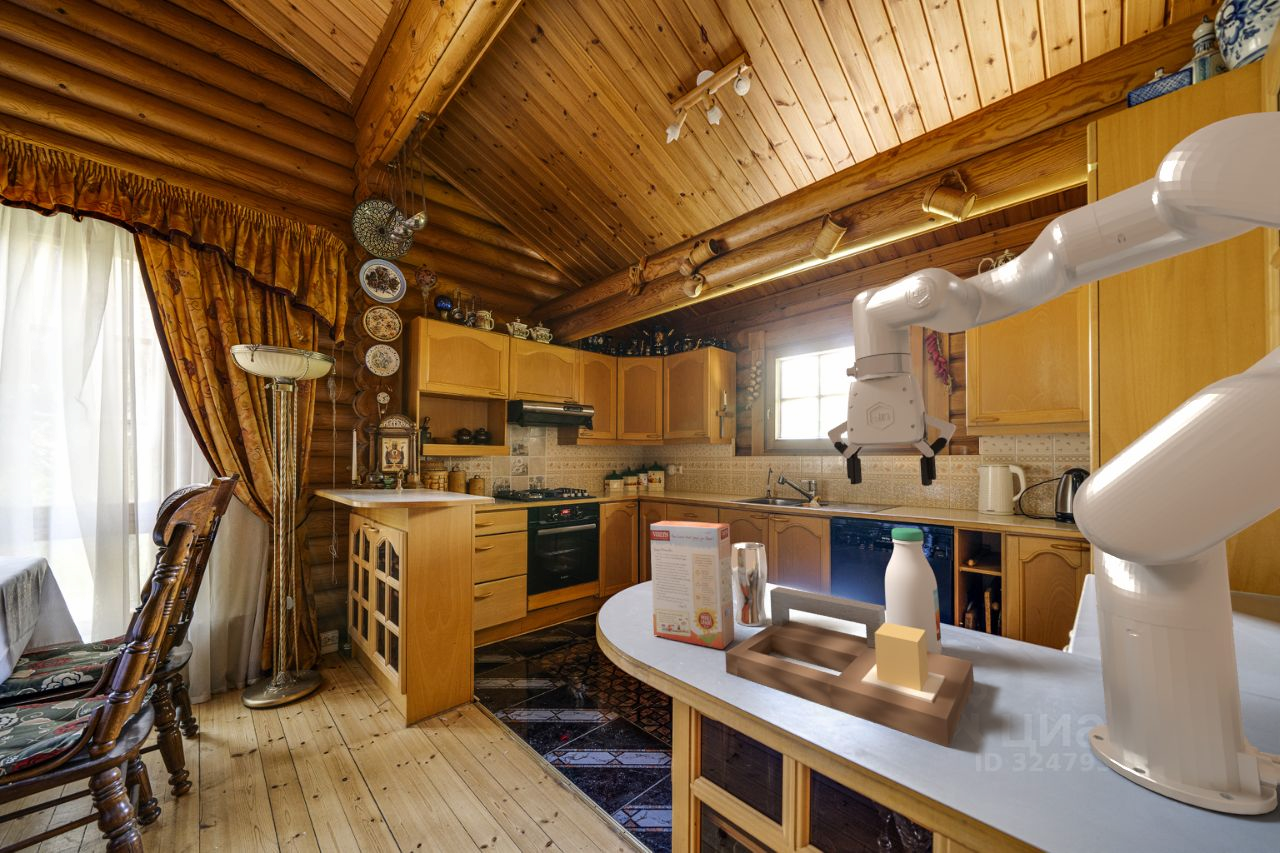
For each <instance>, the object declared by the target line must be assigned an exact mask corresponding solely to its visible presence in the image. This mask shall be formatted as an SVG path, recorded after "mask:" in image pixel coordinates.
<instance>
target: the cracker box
mask: <svg viewBox="0 0 1280 853" xmlns="http://www.w3.org/2000/svg"><path fill="white" fill-rule="evenodd" d="M730 528H731V527H730V524H729V523H719V522H718V523H715V522H714V523H712V522H700V521H683V520H680V521H679V520H660V521H658V522H657V521H656V522H654V523H650V554H651V555H650V556H651V558H650V560H651V561H650V563H651V564H650V565H651V594H652V597H651V598H652V624H653V626H652V627H653V629H652V630H653V636H654V635H657V636H661V637H660V638H663V637H665V638H664V639H668V638H669V640H673V641H677V642H678V641H679V642H683V643H688V644H695V645H698V646H705V647H709V648H714V649H718V650H724V649H725V648H726V647H727V646H729V644H730V643H731V642H732V641H734V640H735V622H734V620H735V619H734V617H735V616H734V615H735V614H734V595H733V577H732V568H731V553H732V545H731V531H730ZM657 636H656V637H657Z"/></svg>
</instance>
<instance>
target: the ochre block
mask: <svg viewBox="0 0 1280 853" xmlns="http://www.w3.org/2000/svg"><path fill="white" fill-rule="evenodd" d="M875 649H876V666H877V680H880V681H884V682H888V683H891V684H895V685H899V686H902V687H906V688H910V689H914V690H917V691H921V690H922V688H923V686H924V684H925V682H926V680H927V679H928V677H929V675H928V660H927V644H926V630H922V629H917V628H912V627H906V626H901V625H896V624H891V623H887V621H885V623H884V624H883V625H882V626H881V627H880V628H879V629H878V630H877V631H876V632H875Z"/></svg>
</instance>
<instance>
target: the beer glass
mask: <svg viewBox="0 0 1280 853" xmlns="http://www.w3.org/2000/svg"><path fill="white" fill-rule="evenodd" d="M765 546H766V545H765V544H764V543H760V542H750V541H749V542H747V541H744V542H736V543H732V544H731V570H732V583H733V587H734V590H735V591H734V592H735V595H736V596H735V597H736V614H735V622H736V623H737V624H739V625H741V626H744V625H745V626H746V627H751V626H756V627H761V626H762V627H763V626H764V625H766V624H767V622H768V618H767V613H766V610H765V596H766V595H765V594H766V586H767V578H768V576H767V575H768V564H767V555H766V547H765ZM745 626H744V627H745Z"/></svg>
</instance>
